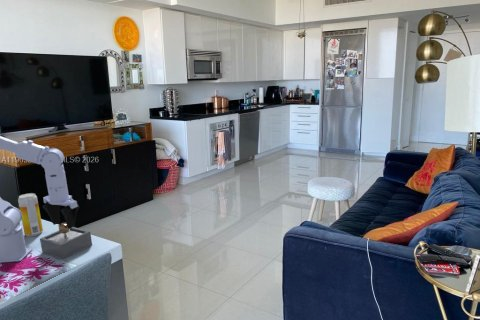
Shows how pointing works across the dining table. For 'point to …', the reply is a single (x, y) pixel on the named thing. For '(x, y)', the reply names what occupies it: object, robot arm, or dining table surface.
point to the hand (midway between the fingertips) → (64, 225)
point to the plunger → (64, 234)
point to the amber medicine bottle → (30, 214)
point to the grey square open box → (66, 244)
